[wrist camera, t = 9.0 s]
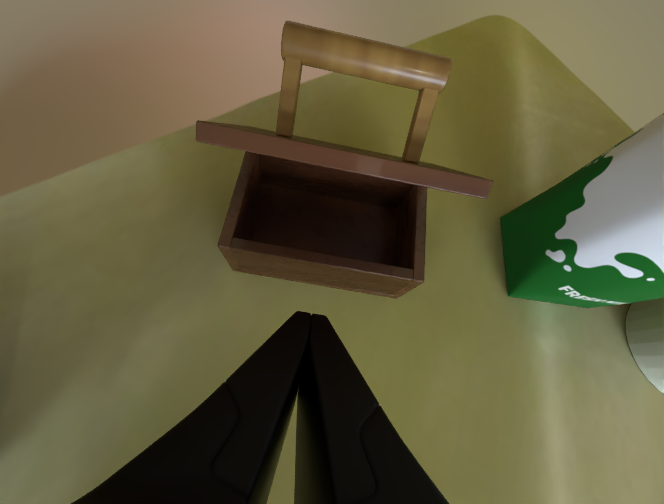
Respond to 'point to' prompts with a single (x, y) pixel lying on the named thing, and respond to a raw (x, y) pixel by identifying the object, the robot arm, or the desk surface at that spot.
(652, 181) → the milk carton
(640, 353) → the reusable coffee cup
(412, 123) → the tea lid
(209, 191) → the desk surface
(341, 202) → the tea box
